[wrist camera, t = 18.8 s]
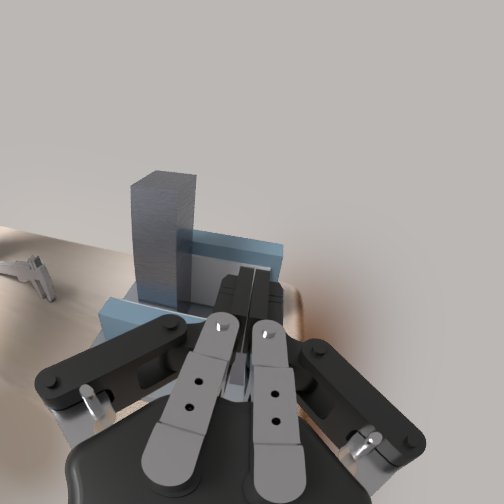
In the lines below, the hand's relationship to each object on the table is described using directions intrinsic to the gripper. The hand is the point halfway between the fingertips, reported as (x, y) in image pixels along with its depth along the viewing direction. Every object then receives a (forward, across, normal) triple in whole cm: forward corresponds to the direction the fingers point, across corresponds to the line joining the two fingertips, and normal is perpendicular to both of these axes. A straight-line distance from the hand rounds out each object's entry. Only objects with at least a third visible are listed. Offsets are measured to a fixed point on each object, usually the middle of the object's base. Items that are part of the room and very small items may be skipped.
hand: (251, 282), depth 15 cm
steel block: (+10, +8, +14) cm, 19 cm away
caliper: (+10, +34, +16) cm, 38 cm away
